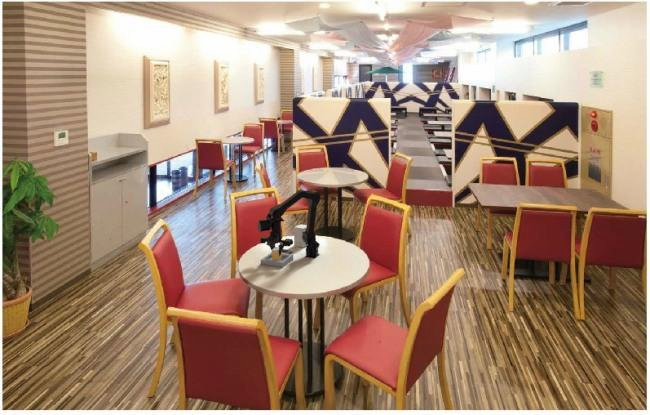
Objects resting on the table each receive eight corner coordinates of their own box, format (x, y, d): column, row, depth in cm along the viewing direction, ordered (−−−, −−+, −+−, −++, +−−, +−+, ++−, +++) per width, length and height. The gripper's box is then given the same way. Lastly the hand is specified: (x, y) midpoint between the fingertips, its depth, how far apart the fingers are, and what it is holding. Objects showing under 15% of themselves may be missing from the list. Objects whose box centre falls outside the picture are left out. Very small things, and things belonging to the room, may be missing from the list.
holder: (292, 252, 317) (292, 250, 317) (285, 257, 308) (285, 255, 308) (281, 250, 320) (281, 248, 320) (273, 255, 311) (273, 253, 311)
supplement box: (302, 247, 325) (302, 228, 322) (293, 245, 329) (293, 226, 326) (310, 244, 331) (309, 225, 327) (301, 242, 335) (300, 223, 332)
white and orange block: (282, 257, 302) (281, 247, 301) (277, 260, 297) (277, 250, 295) (276, 256, 303) (276, 246, 302) (272, 259, 298) (271, 250, 296)
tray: (293, 259, 304) (293, 254, 304) (282, 267, 292) (282, 262, 291) (272, 256, 309) (271, 252, 309) (260, 264, 297) (260, 259, 296)
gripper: (254, 231, 292) (255, 257, 296) (284, 235, 285) (285, 261, 289) (264, 226, 302) (265, 251, 306) (293, 229, 295) (293, 255, 299)
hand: (276, 255), depth 300 cm, fingers closed on white and orange block, 3 cm apart
